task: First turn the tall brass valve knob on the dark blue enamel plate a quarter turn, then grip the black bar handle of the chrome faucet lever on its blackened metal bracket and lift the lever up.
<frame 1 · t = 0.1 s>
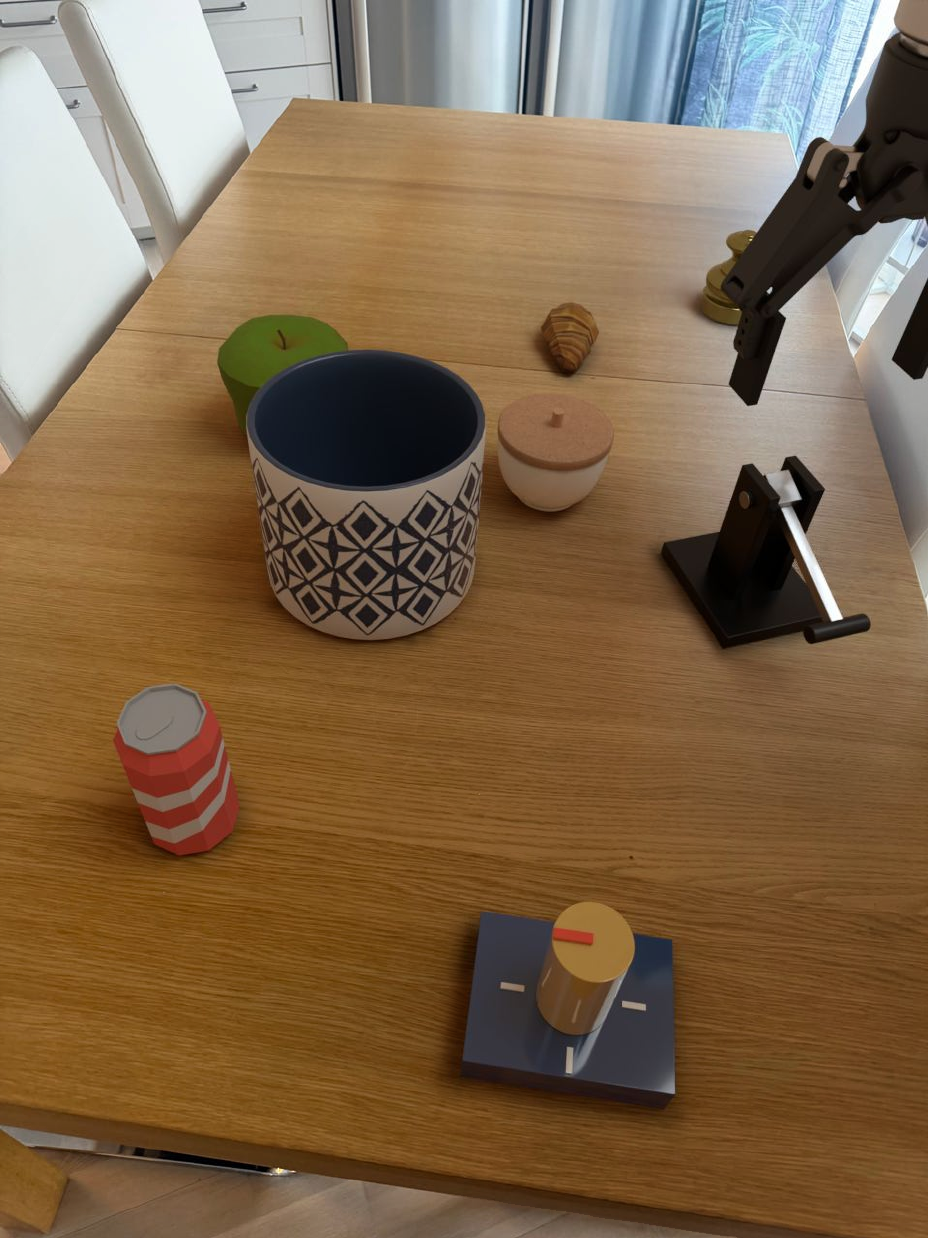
hand: (826, 381, 66), 22 cm above the table, tool pointing down, fingers open, 13 cm apart
faucet bracket: (739, 588, 83), on the table
faucet lever: (804, 555, 73), point 9 cm above the table, hinge at -20.0°
trinket box: (546, 492, 91), on the table
valve knob: (582, 969, 52), point 7 cm above the table, hinge at 0.0°
apple: (292, 429, 96), on the table
gold metal turned piece: (727, 312, 116), on the table
beverage can: (195, 820, 65), on the table
croissant: (567, 347, 109), on the table
planter: (372, 569, 82), on the table
valve plate: (566, 1015, 57), on the table
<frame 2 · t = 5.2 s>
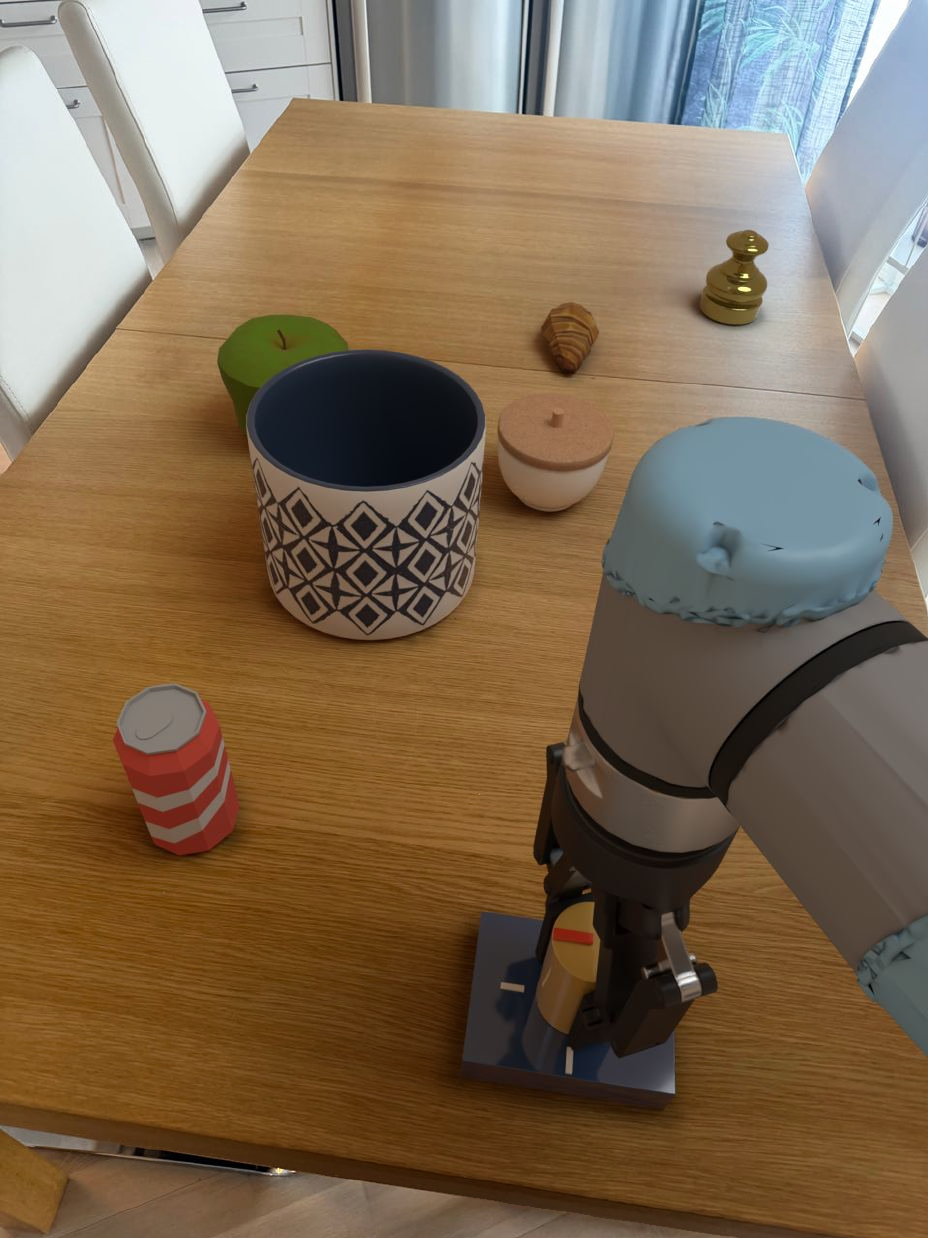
hand: (574, 992, 54), 4 cm above the table, tool pointing down, fingers closed on valve knob, 4 cm apart
valve knob: (582, 969, 52), point 7 cm above the table, hinge at 0.0°, touching gripper
everything else where it was.
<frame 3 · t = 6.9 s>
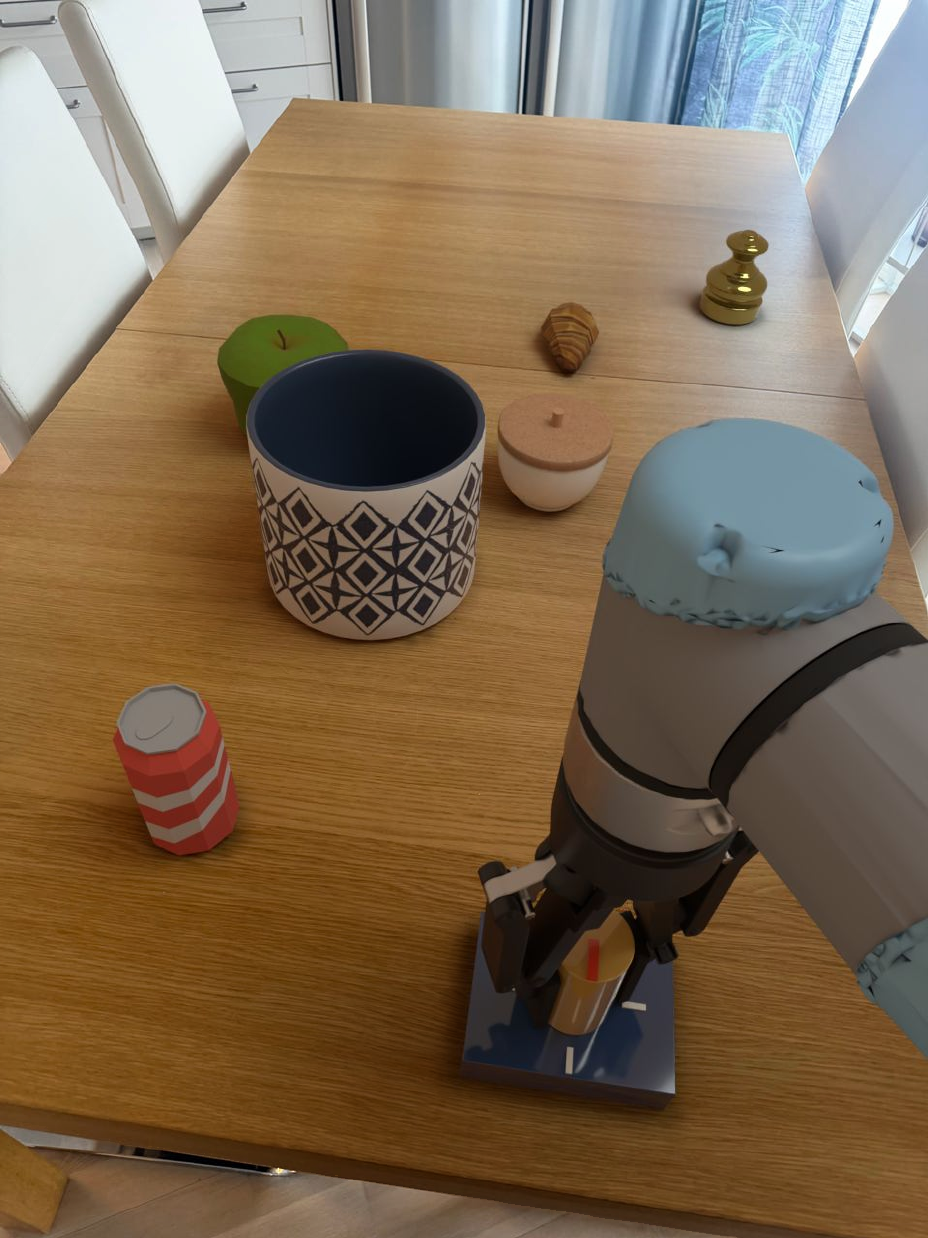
hand: (573, 992, 54), 4 cm above the table, tool pointing down, fingers closed on valve knob, 4 cm apart
valve knob: (582, 969, 52), point 7 cm above the table, hinge at 89.8°, touching gripper
everything else where it was.
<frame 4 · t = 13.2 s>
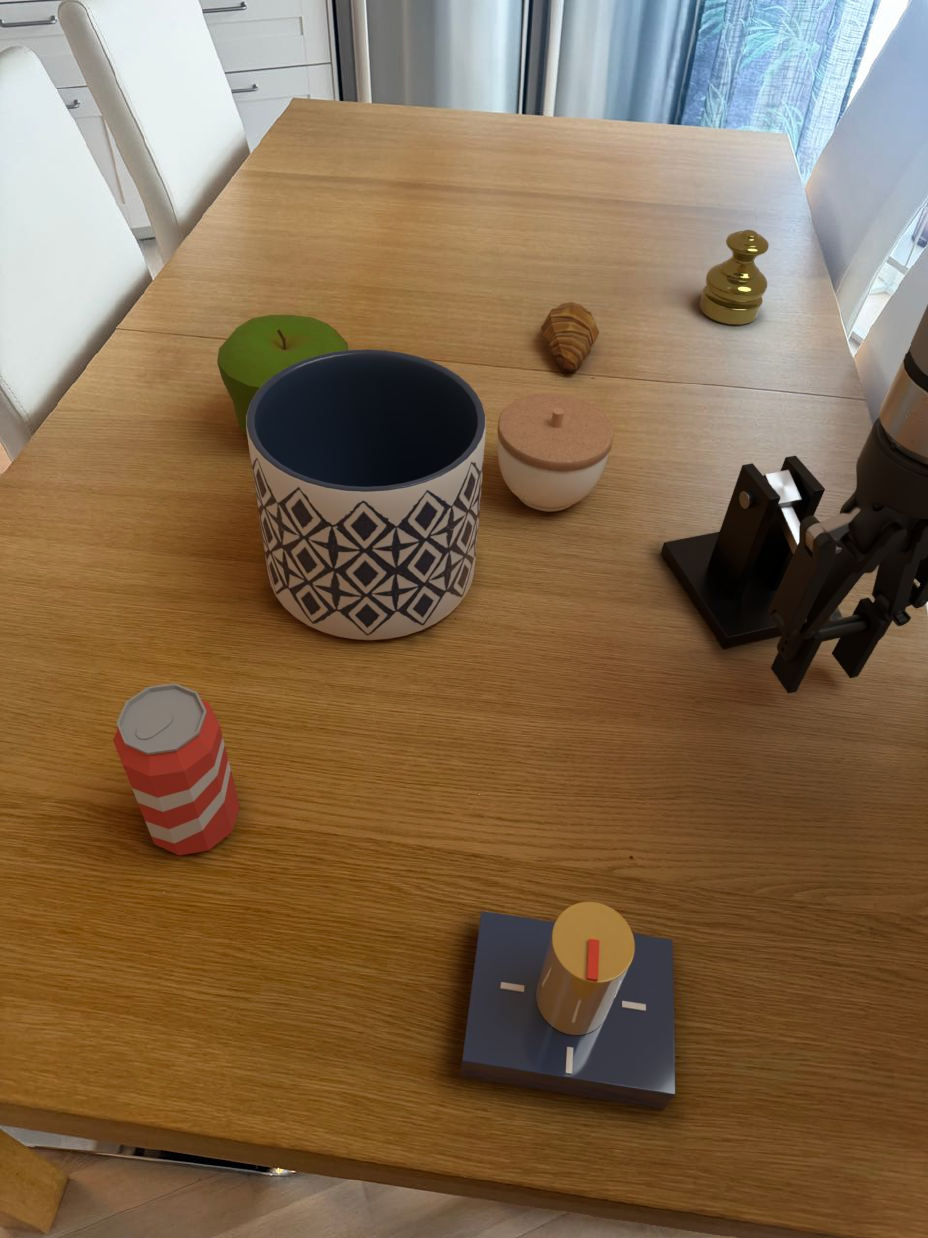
hand: (814, 671, 75), 2 cm above the table, tool pointing down, fingers closed on faucet lever, 5 cm apart
faucet lever: (804, 555, 73), point 9 cm above the table, hinge at -20.0°, touching gripper
valve knob: (582, 969, 52), point 7 cm above the table, hinge at 89.9°
everything else where it was.
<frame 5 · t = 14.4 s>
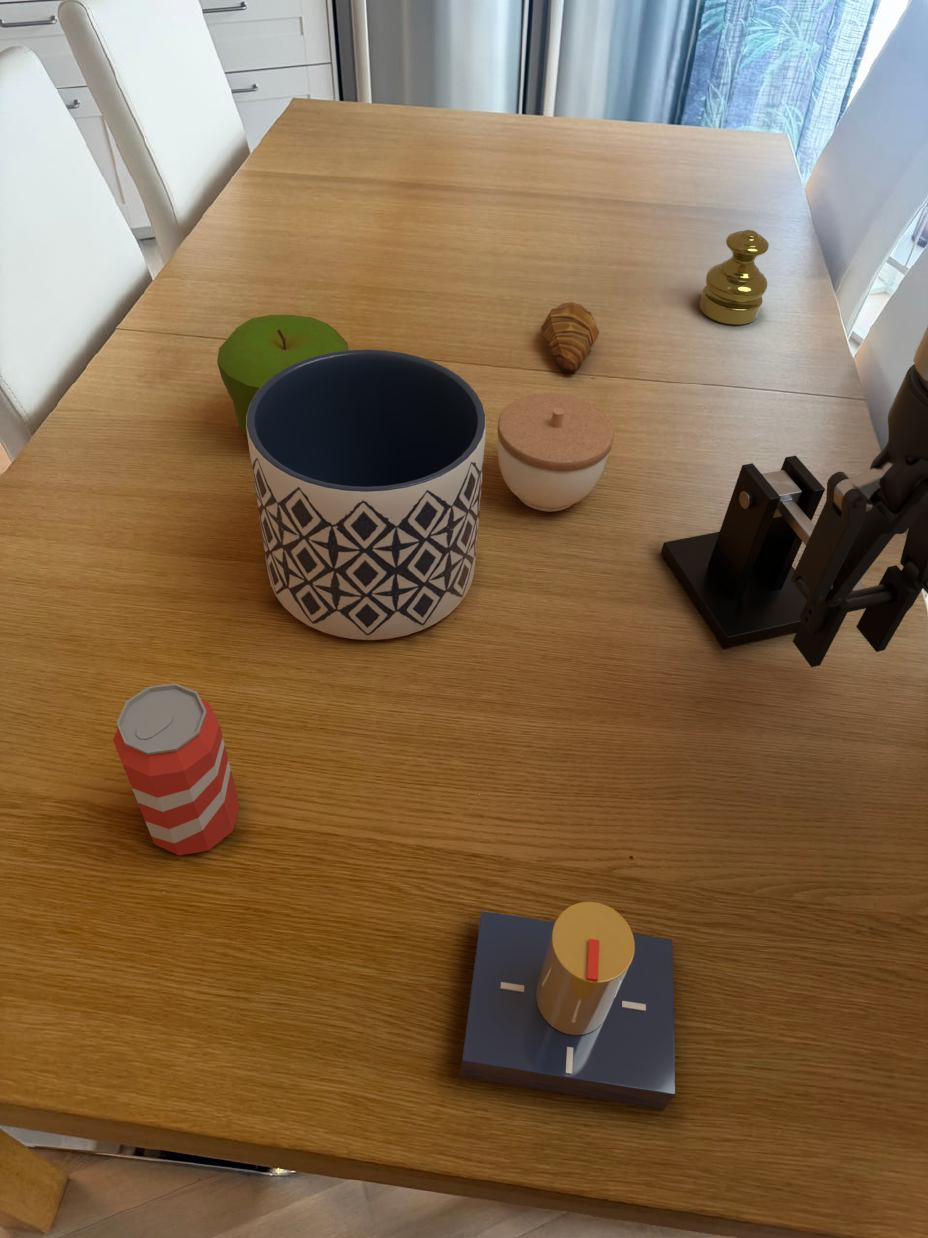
hand: (838, 645, 71), 6 cm above the table, tool pointing down, fingers closed on faucet lever, 5 cm apart
faucet lever: (814, 540, 71), point 11 cm above the table, hinge at -0.3°, touching gripper
everything else where it was.
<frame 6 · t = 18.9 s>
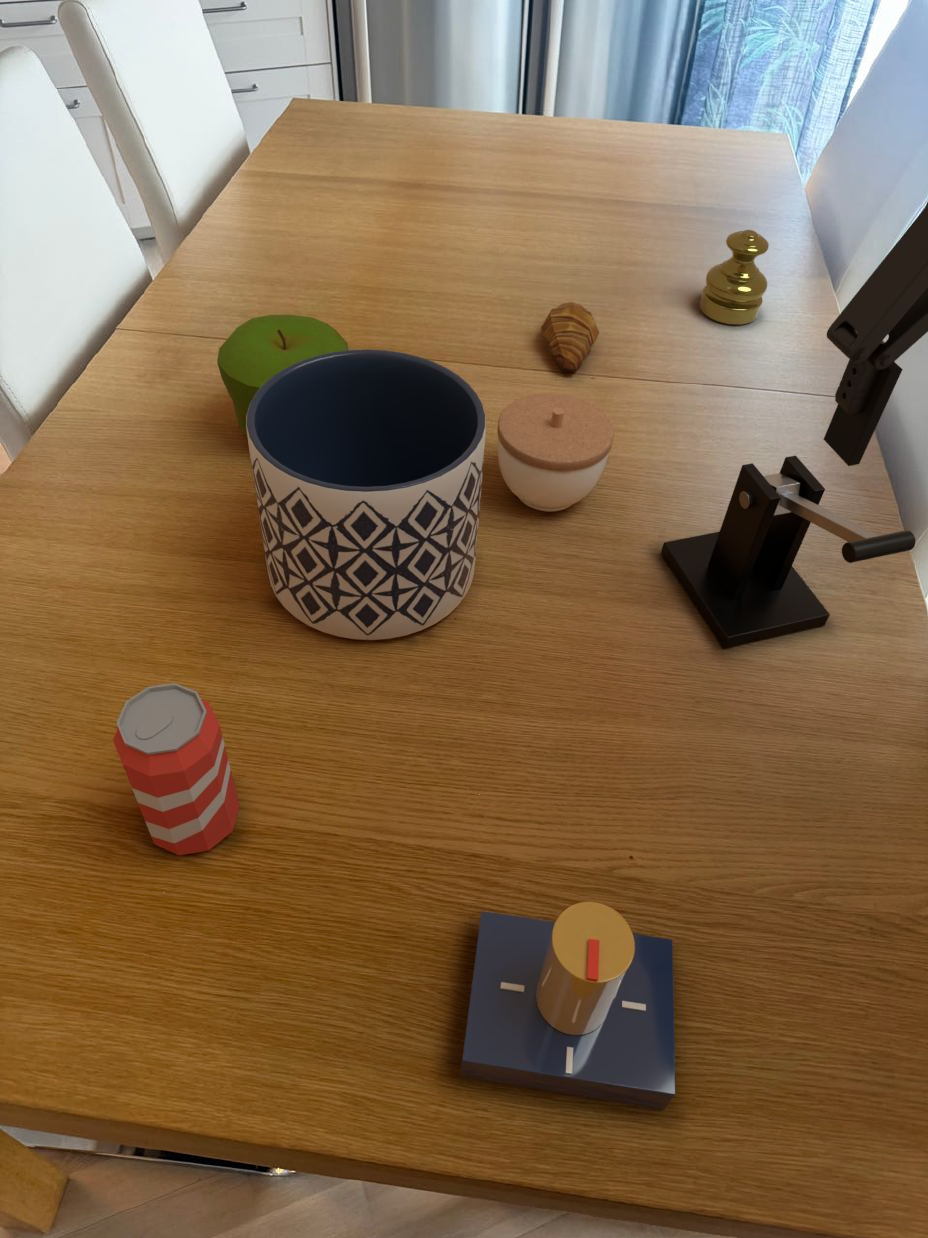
faucet lever: (820, 516, 70), point 13 cm above the table, hinge at 21.5°
everything else where it was.
at the end: valve knob at +90° (first picture: +0°); faucet lever at +22° (first picture: -20°) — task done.
